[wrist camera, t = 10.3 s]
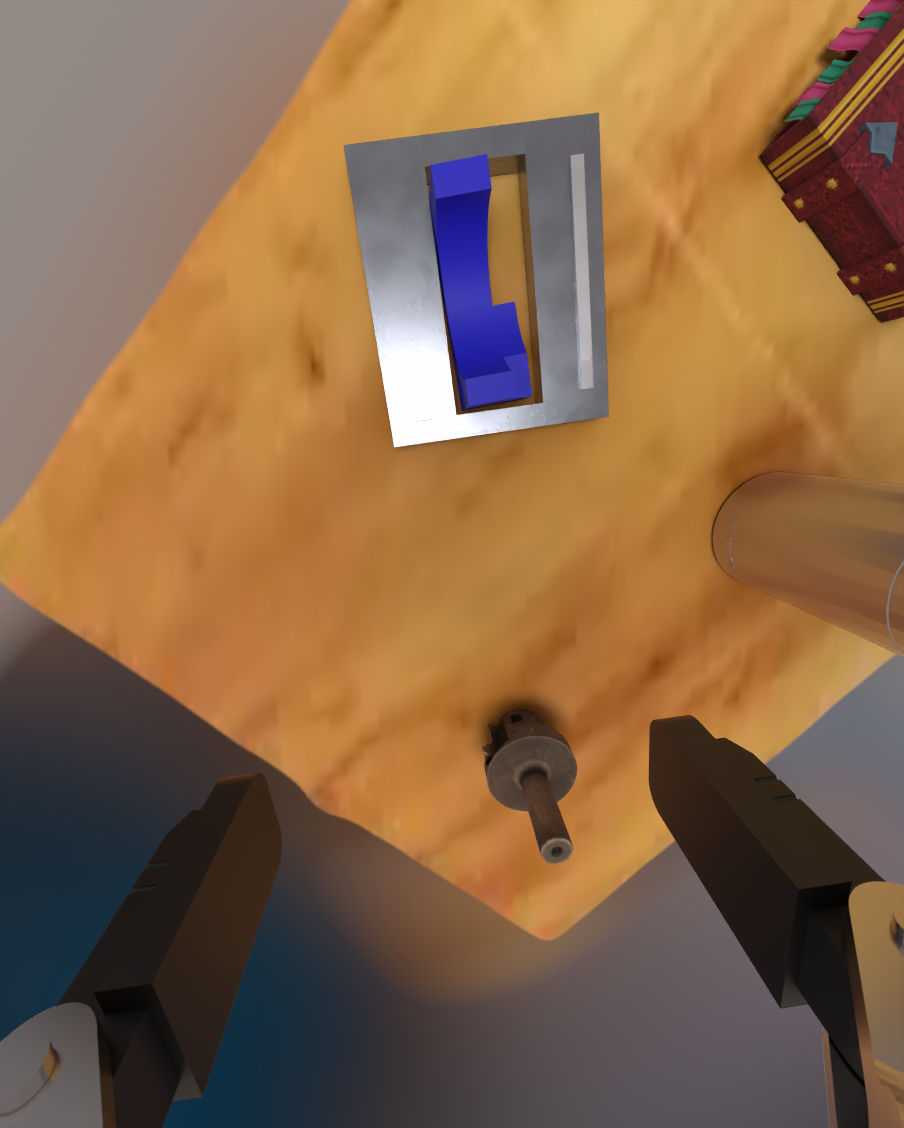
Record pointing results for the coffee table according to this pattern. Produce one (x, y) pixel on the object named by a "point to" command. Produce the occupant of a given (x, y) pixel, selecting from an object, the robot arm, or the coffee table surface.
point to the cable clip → (474, 288)
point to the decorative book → (854, 158)
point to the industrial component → (532, 777)
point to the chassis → (552, 259)
